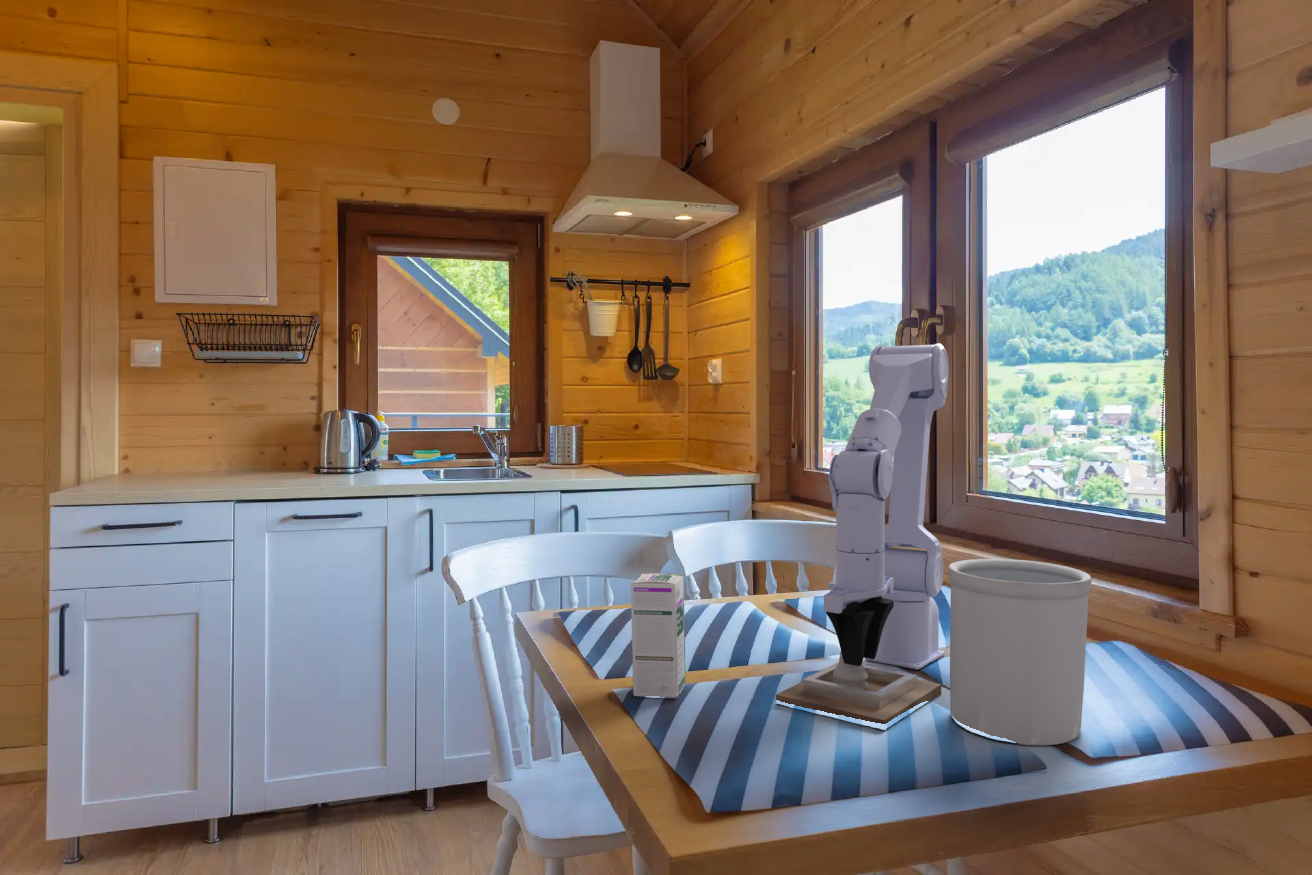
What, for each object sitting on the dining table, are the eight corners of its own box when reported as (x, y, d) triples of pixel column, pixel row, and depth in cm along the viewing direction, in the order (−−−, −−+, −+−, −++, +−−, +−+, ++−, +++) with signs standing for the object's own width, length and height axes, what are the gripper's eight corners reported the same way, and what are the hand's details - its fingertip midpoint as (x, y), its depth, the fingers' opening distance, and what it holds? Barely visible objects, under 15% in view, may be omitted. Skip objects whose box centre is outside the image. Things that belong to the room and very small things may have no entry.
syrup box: (678, 700, 110) (677, 582, 110) (631, 697, 111) (630, 580, 111) (686, 685, 116) (685, 573, 115) (641, 683, 117) (640, 571, 116)
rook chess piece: (872, 685, 112) (874, 620, 111) (863, 694, 108) (864, 628, 108) (837, 679, 114) (838, 616, 114) (826, 689, 110) (827, 623, 110)
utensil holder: (1033, 697, 111) (1034, 555, 110) (1119, 742, 96) (1122, 578, 95) (922, 706, 108) (924, 560, 107) (995, 754, 93) (997, 586, 92)
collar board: (839, 672, 121) (839, 652, 121) (941, 693, 112) (941, 672, 112) (775, 704, 109) (775, 682, 108) (884, 730, 100) (884, 706, 100)
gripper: (857, 539, 118) (857, 642, 118) (800, 554, 106) (800, 668, 107) (909, 544, 113) (908, 651, 114) (855, 560, 102) (854, 679, 102)
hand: (859, 660), depth 110 cm, fingers closed on rook chess piece, 3 cm apart
